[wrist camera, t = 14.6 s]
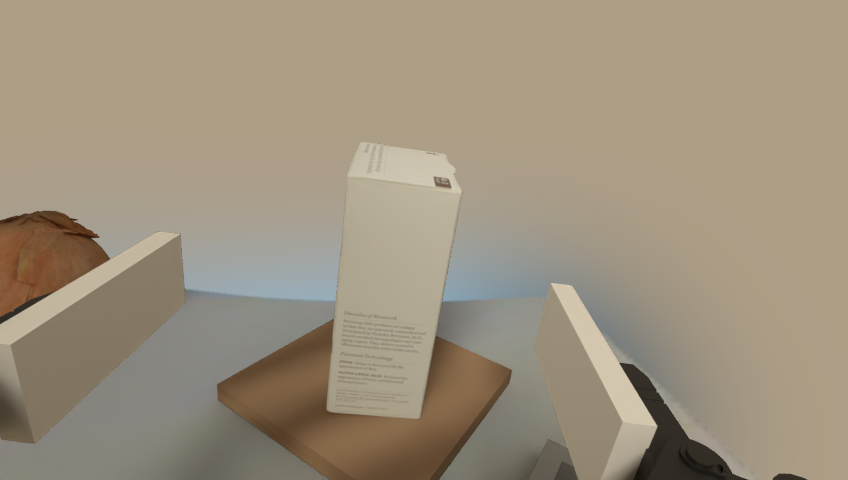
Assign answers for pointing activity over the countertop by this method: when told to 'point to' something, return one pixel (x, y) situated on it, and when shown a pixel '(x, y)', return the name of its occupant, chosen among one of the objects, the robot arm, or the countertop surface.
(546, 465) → the holder
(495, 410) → the countertop surface
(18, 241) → the onion
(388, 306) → the skincare box
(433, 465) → the coaster
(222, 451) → the countertop surface
